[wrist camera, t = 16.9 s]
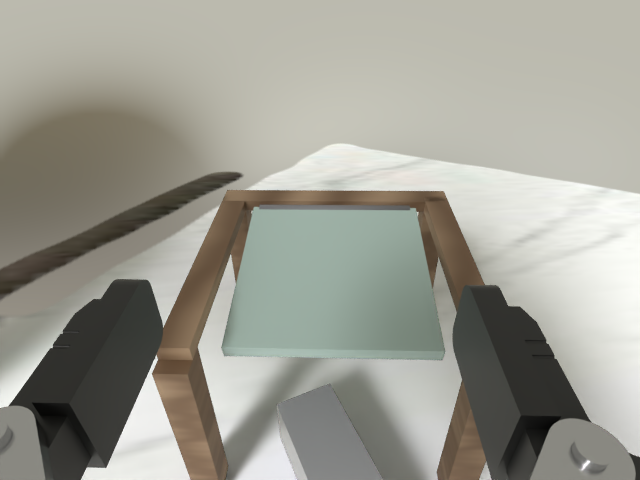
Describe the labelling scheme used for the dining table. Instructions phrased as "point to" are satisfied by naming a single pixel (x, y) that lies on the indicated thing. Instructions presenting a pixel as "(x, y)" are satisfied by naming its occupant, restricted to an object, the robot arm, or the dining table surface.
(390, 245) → the trapdoor
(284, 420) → the grey rectangular block
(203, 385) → the trapdoor frame
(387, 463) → the dining table surface
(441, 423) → the dining table surface
